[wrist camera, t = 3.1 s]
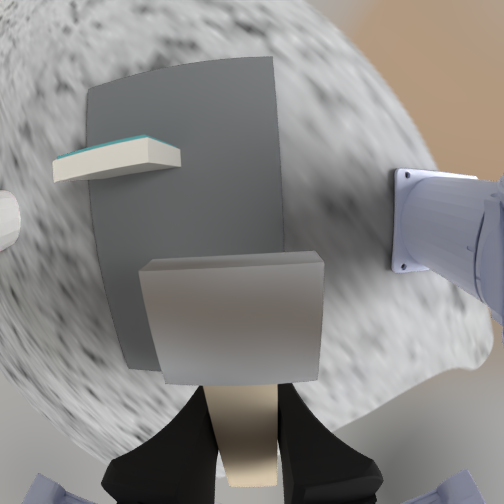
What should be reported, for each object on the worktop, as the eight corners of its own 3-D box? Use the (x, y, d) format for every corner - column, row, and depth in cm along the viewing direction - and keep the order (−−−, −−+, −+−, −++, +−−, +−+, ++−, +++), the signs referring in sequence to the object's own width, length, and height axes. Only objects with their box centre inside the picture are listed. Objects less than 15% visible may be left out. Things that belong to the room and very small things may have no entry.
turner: (292, 420, 15) (301, 483, 10) (214, 422, 15) (205, 485, 10) (295, 229, 12) (324, 262, 7) (181, 235, 12) (138, 271, 7)
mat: (271, 59, 16) (272, 56, 15) (284, 366, 22) (284, 370, 21) (92, 90, 16) (88, 89, 15) (130, 364, 22) (128, 368, 22)
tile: (180, 146, 17) (147, 133, 11) (181, 166, 17) (148, 162, 11) (103, 160, 17) (52, 157, 11) (104, 178, 17) (53, 182, 12)
